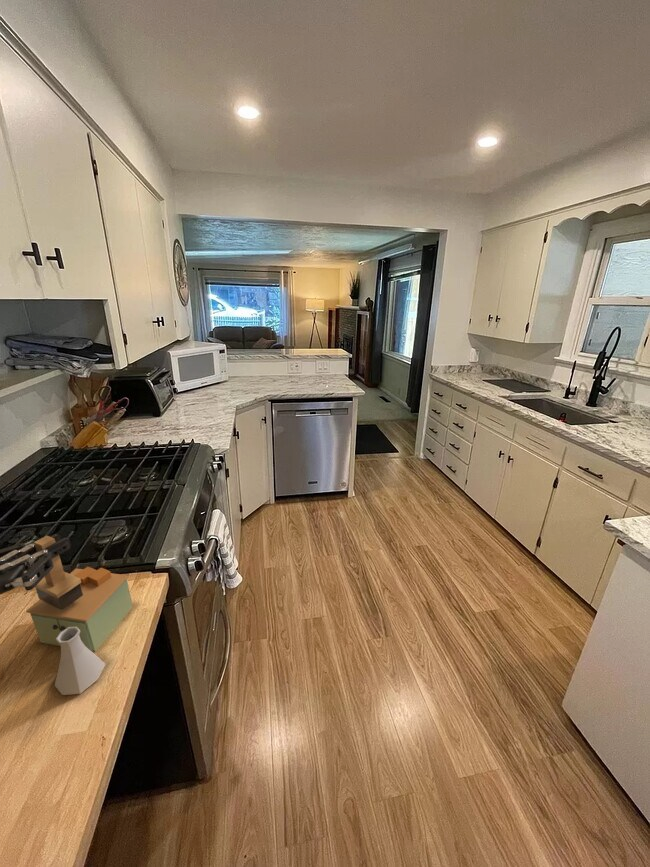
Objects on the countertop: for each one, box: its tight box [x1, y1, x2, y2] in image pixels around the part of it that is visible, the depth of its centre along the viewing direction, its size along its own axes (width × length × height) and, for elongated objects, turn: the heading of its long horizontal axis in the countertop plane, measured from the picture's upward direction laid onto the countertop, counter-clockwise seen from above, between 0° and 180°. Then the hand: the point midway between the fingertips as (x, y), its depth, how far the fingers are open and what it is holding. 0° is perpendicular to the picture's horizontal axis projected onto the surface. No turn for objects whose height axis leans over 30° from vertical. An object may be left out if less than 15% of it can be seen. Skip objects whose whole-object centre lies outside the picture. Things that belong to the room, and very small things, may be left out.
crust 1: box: [74, 566, 98, 585], centre depth 74 cm, size 3×3×2 cm
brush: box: [33, 535, 83, 610], centre depth 66 cm, size 4×7×13 cm, turn 67°
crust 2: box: [88, 567, 112, 586], centre depth 74 cm, size 3×3×2 cm
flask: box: [54, 627, 106, 696], centre depth 62 cm, size 7×7×10 cm
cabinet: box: [25, 567, 134, 653], centre depth 72 cm, size 13×12×8 cm
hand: (63, 540), depth 67 cm, fingers closed on brush, 2 cm apart
